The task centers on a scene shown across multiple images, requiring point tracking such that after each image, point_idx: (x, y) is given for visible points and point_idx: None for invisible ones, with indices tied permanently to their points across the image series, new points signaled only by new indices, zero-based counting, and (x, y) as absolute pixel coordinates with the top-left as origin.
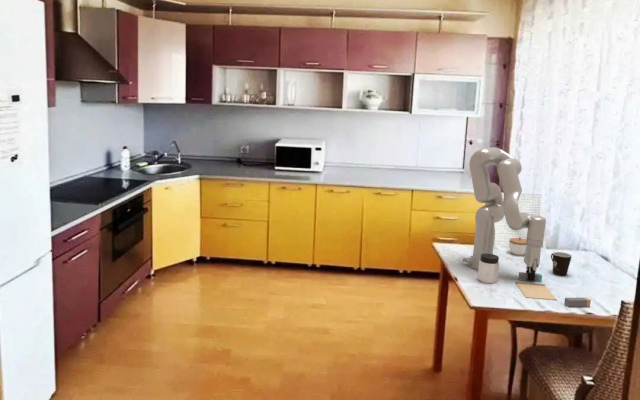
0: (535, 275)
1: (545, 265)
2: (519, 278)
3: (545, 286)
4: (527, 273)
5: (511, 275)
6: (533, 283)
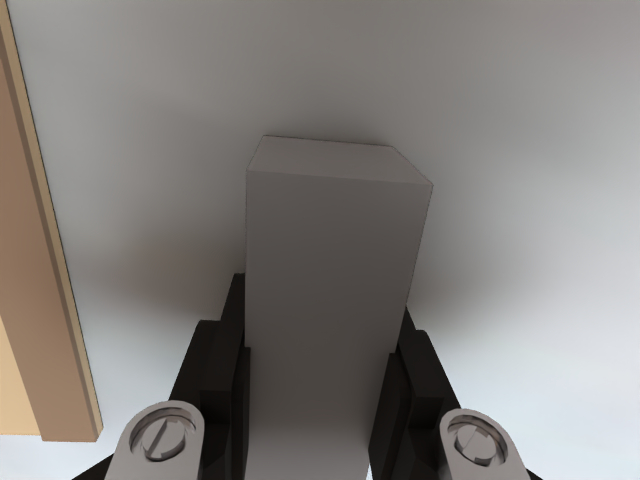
0: None
1: None
2: (301, 143)
3: (18, 431)
4: (330, 355)
5: (564, 44)
6: (62, 316)
